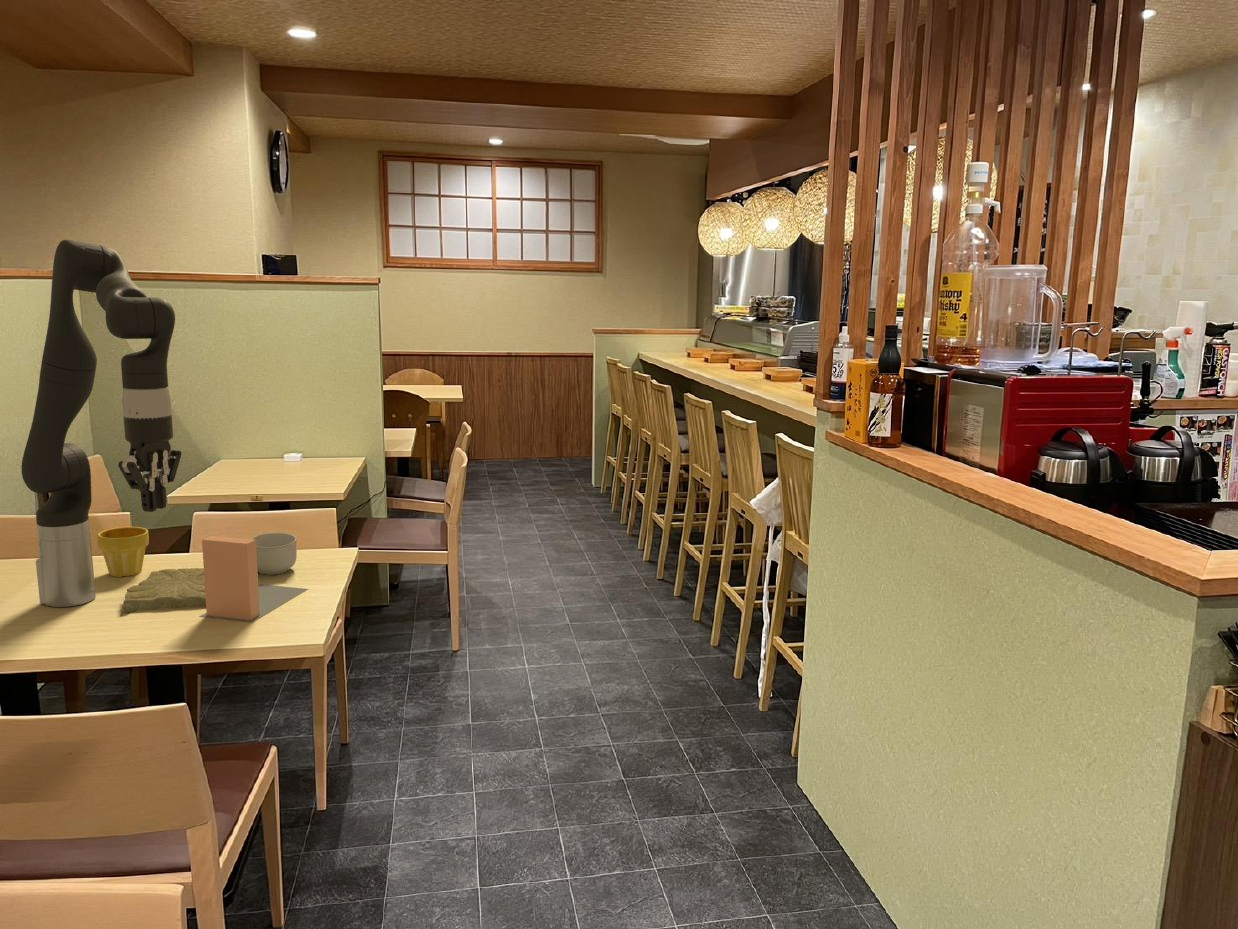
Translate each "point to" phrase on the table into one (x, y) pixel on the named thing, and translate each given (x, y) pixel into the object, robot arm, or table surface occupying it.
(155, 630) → the table surface
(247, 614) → the terracotta tile
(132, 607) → the decorative tile
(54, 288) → the robot arm
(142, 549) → the plant pot
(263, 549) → the teacup
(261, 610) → the rubber mat
